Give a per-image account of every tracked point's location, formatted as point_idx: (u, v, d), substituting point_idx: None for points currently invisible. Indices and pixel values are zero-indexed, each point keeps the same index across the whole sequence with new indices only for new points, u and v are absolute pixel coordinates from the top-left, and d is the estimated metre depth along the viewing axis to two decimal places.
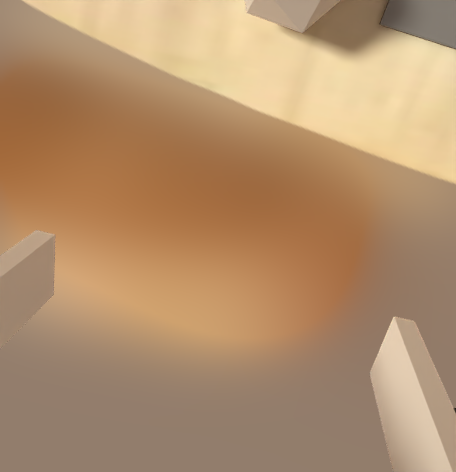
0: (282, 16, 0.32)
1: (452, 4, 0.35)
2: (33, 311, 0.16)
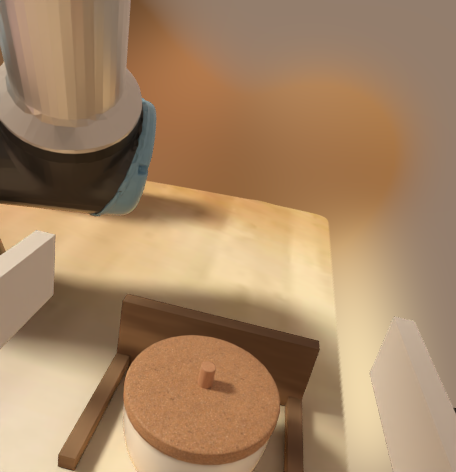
0: None
1: None
2: (33, 311, 0.16)
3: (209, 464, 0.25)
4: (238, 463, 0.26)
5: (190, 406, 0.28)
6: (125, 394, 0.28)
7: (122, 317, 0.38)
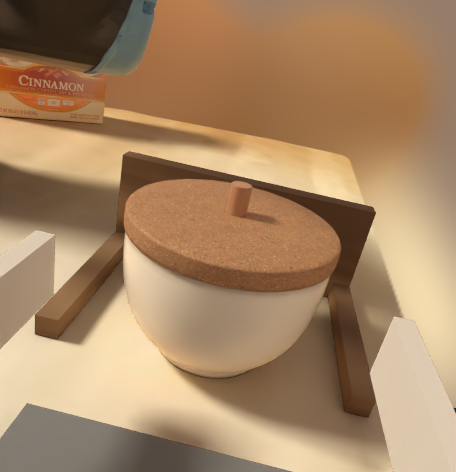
0: None
1: None
2: (33, 311, 0.16)
3: (250, 290, 0.17)
4: (290, 298, 0.18)
5: (219, 227, 0.19)
6: (126, 213, 0.20)
7: (122, 179, 0.30)
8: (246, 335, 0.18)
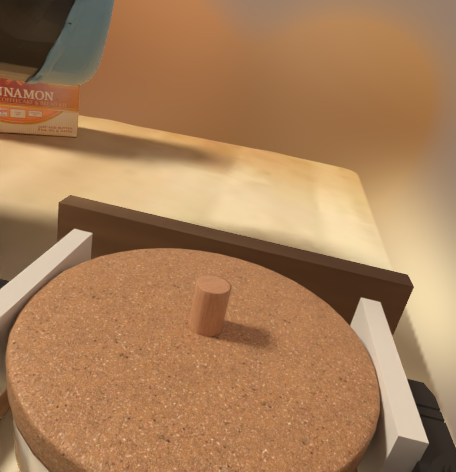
0: None
1: None
2: None
3: None
4: None
5: (168, 374, 0.11)
6: (8, 344, 0.11)
7: (60, 234, 0.22)
8: None
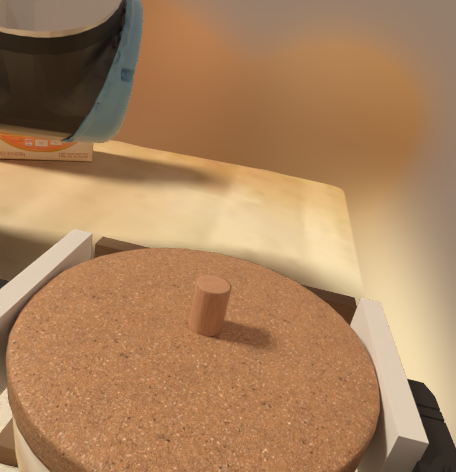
0: None
1: None
2: None
3: None
4: None
5: (168, 373, 0.11)
6: (8, 344, 0.11)
7: None
8: None
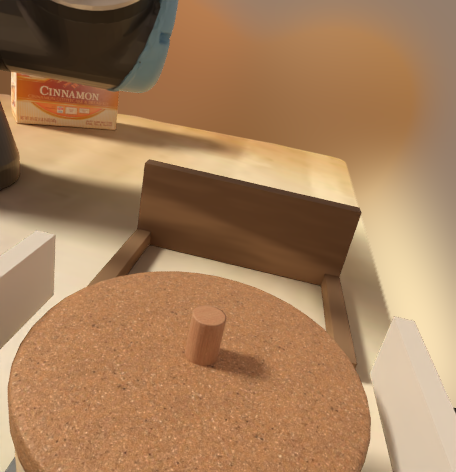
0: None
1: None
2: (33, 311, 0.16)
3: None
4: None
5: (164, 405, 0.11)
6: (10, 375, 0.12)
7: (144, 183, 0.35)
8: None
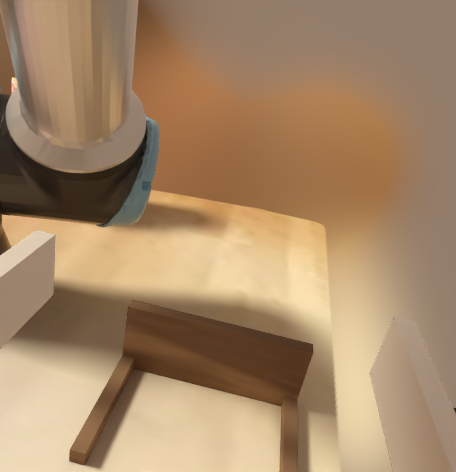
0: None
1: None
2: (33, 311, 0.16)
3: None
4: None
5: None
6: None
7: (128, 322, 0.41)
8: None
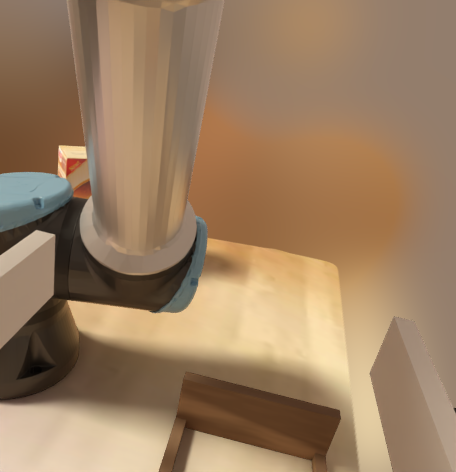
0: None
1: None
2: (33, 311, 0.16)
3: None
4: None
5: None
6: None
7: (182, 391, 0.48)
8: None
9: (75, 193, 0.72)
